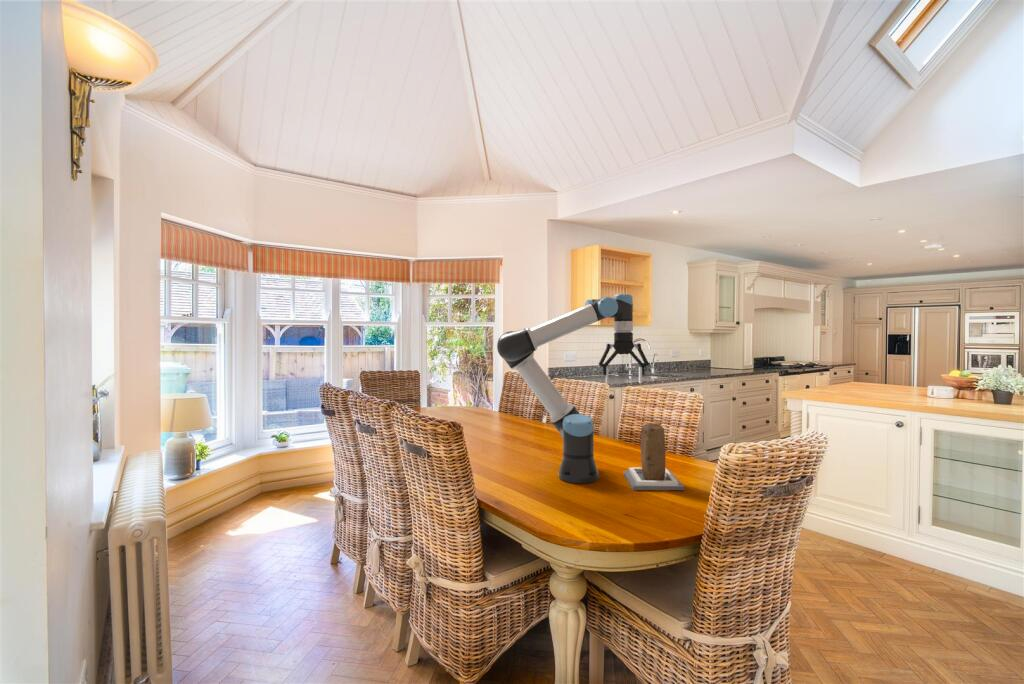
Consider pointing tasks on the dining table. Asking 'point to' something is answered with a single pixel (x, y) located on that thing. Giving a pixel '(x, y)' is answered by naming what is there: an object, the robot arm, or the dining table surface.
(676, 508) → the dining table surface
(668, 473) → the base plate
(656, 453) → the block
